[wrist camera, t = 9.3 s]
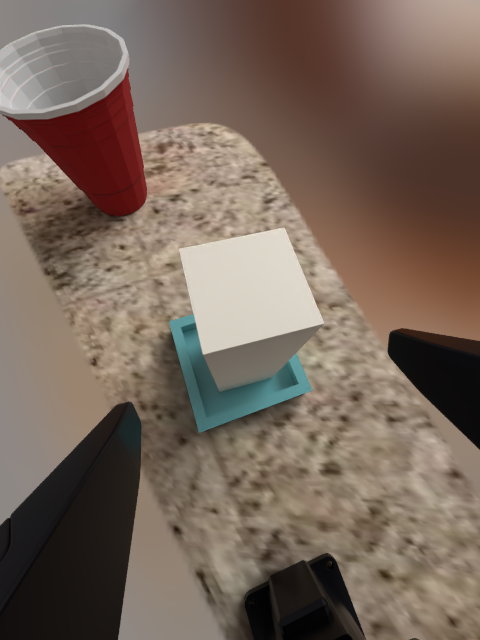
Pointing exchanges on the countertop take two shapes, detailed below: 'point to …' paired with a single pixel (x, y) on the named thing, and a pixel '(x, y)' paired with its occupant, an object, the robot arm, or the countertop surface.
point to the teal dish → (235, 402)
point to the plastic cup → (78, 109)
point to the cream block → (249, 305)
